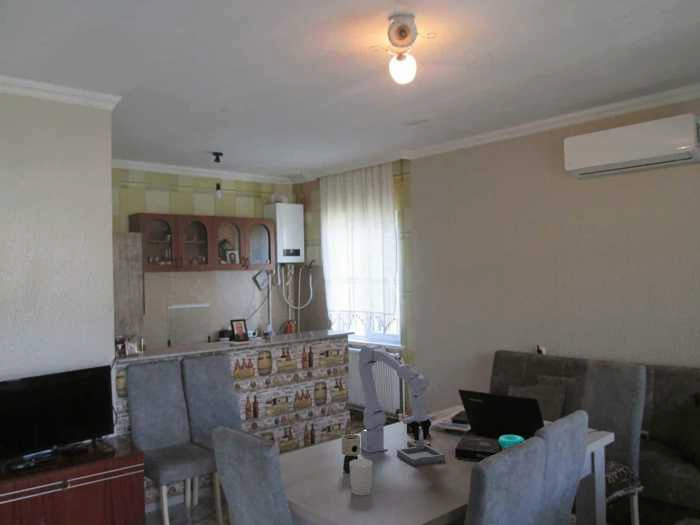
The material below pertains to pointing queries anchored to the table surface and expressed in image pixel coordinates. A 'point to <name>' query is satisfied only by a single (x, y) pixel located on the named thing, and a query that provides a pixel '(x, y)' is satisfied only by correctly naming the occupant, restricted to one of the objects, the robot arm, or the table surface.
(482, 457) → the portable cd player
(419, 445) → the steel pin
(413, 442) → the pin block
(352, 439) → the character mug
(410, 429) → the ammunition clip
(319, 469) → the table surface
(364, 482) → the white cup
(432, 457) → the tray
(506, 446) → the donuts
